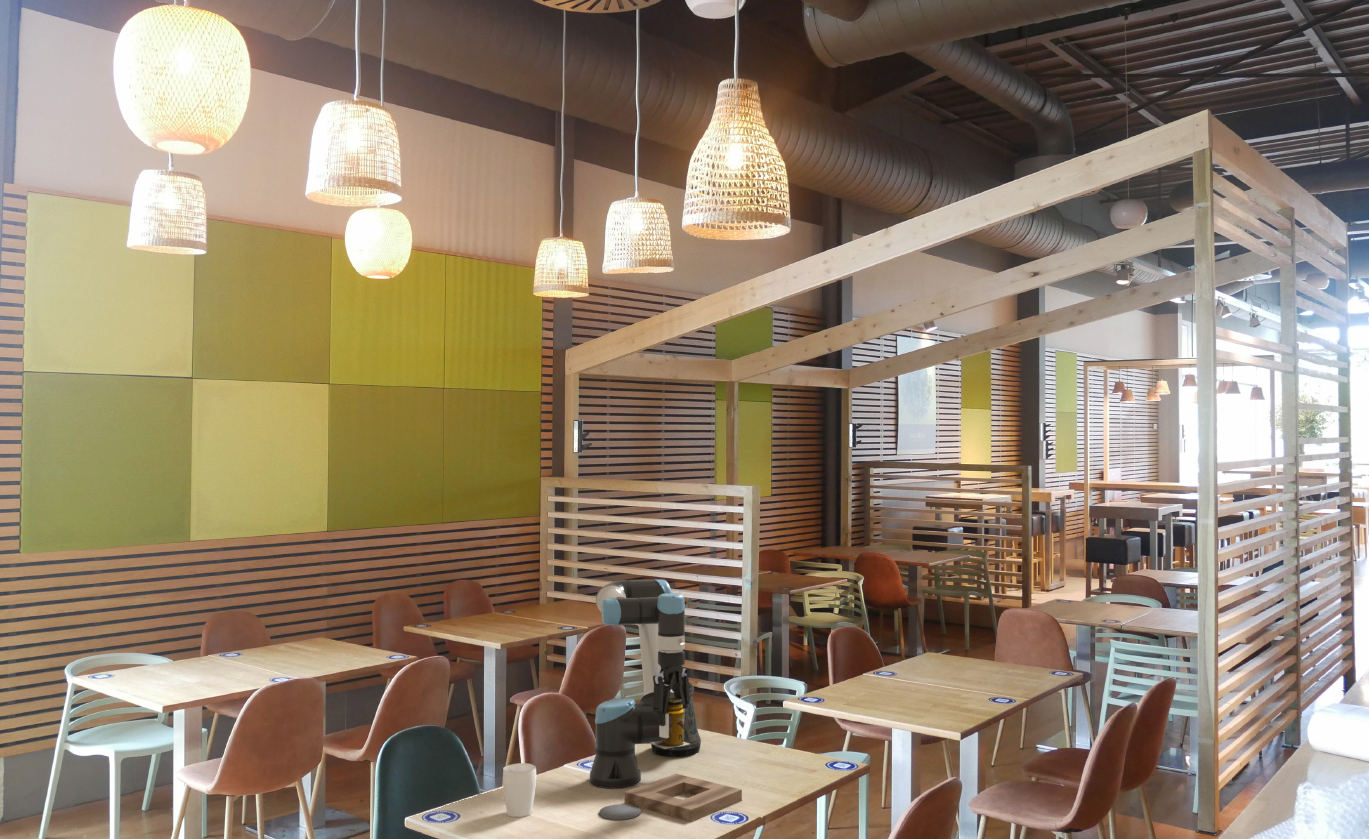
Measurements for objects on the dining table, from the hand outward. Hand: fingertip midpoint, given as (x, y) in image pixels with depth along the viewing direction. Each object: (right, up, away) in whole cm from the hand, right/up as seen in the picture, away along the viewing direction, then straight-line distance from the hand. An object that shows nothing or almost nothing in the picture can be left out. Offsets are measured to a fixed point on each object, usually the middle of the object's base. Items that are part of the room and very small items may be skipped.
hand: (671, 734), depth 283 cm
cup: (-41, -19, -8) cm, 46 cm away
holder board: (+3, -19, +1) cm, 19 cm away
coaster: (-14, -18, -9) cm, 25 cm away
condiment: (0, -3, -1) cm, 3 cm away
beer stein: (+2, -22, +51) cm, 56 cm away
